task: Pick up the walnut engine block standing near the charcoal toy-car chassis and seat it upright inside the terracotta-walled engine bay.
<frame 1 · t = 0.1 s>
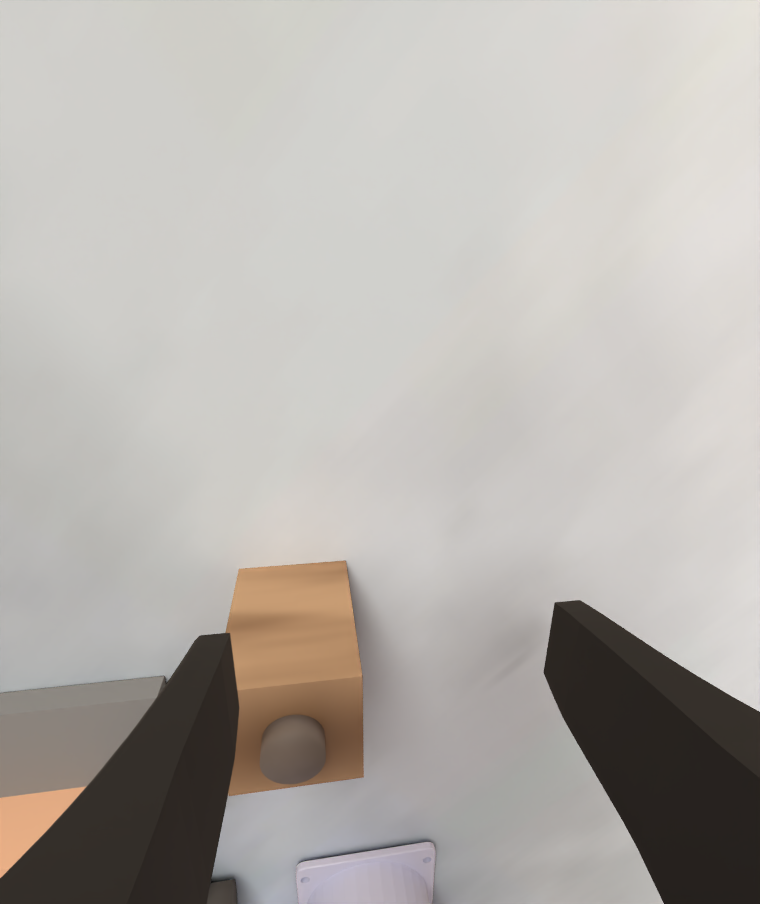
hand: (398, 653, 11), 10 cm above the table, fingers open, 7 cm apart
engine block: (296, 607, 22), on the table
chassis: (65, 829, 24), on the table
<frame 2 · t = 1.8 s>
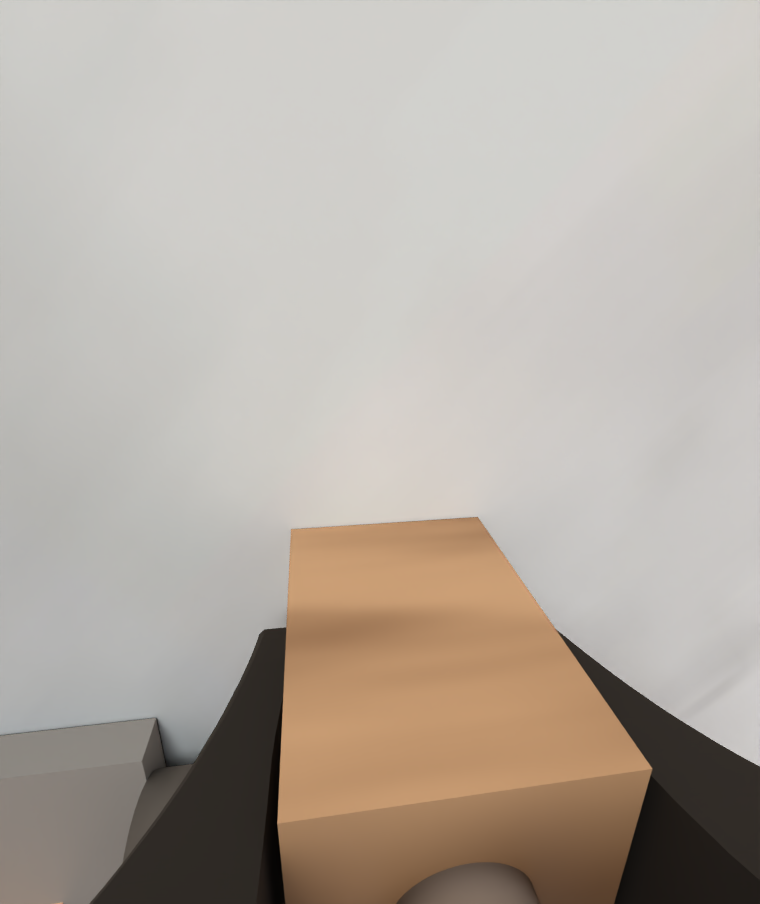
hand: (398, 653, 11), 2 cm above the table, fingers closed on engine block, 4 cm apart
engine block: (385, 601, 13), on the table, touching gripper
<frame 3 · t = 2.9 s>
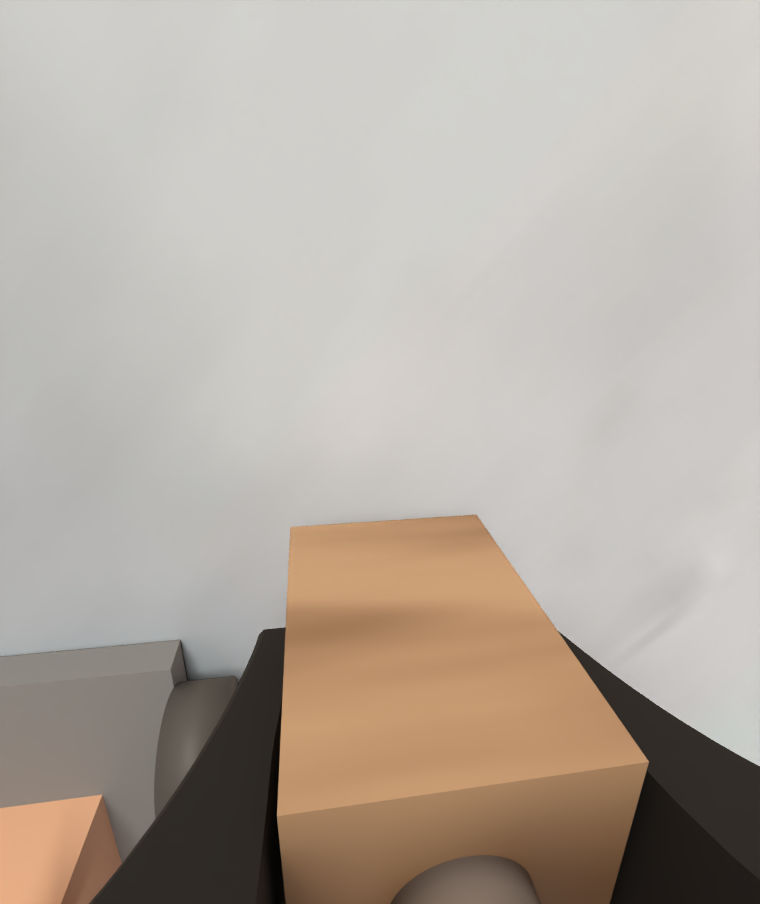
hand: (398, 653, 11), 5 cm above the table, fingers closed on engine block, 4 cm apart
engine block: (385, 598, 13), point 3 cm above the table, touching gripper
chassis: (40, 856, 18), on the table
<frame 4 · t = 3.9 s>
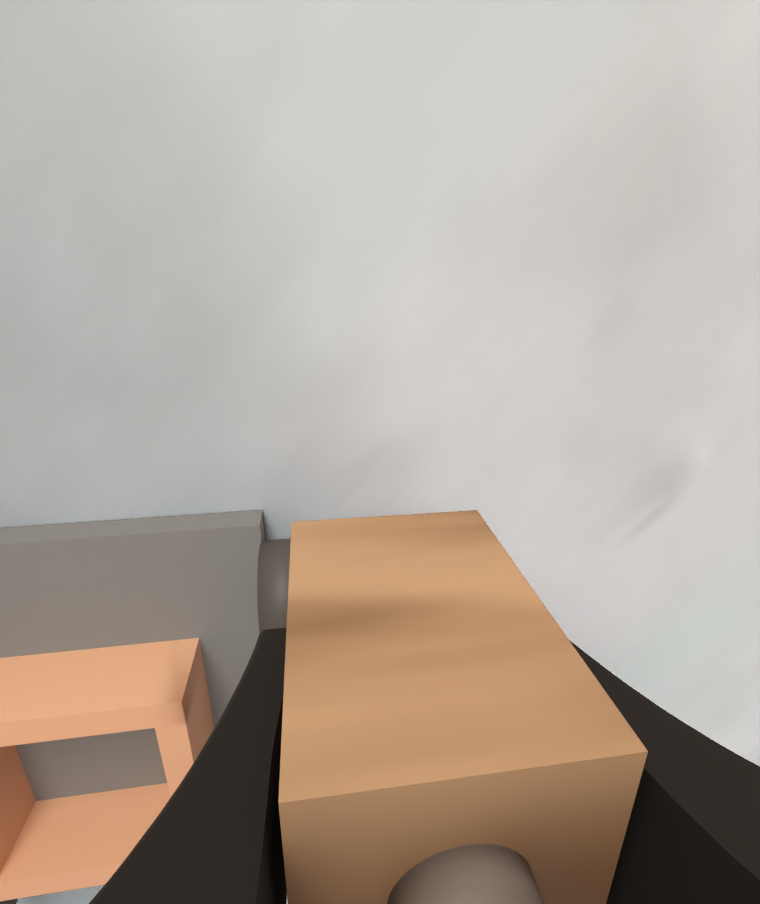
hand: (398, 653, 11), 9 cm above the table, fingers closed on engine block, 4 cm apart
engine block: (385, 594, 13), point 7 cm above the table, touching gripper
chassis: (138, 705, 21), on the table
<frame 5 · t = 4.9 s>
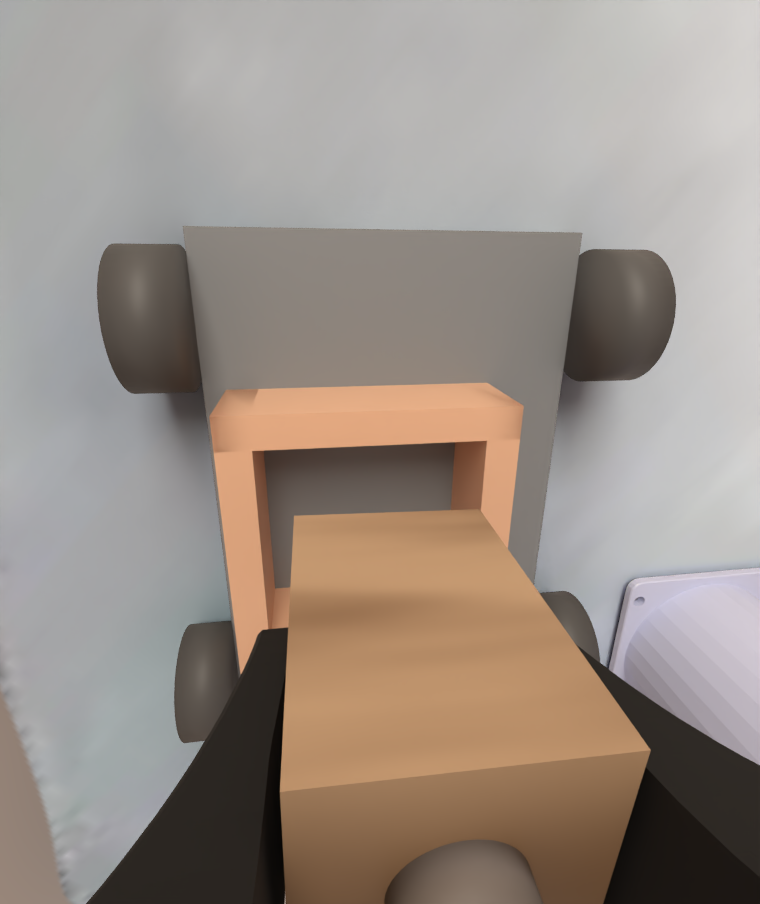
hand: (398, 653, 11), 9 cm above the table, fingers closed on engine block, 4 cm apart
engine block: (385, 591, 13), point 7 cm above the table, touching gripper
chassis: (384, 488, 19), on the table
when the fingers open (5 cm above the table, at t = 6.0 s): engine block drops 1 cm, resting on chassis.
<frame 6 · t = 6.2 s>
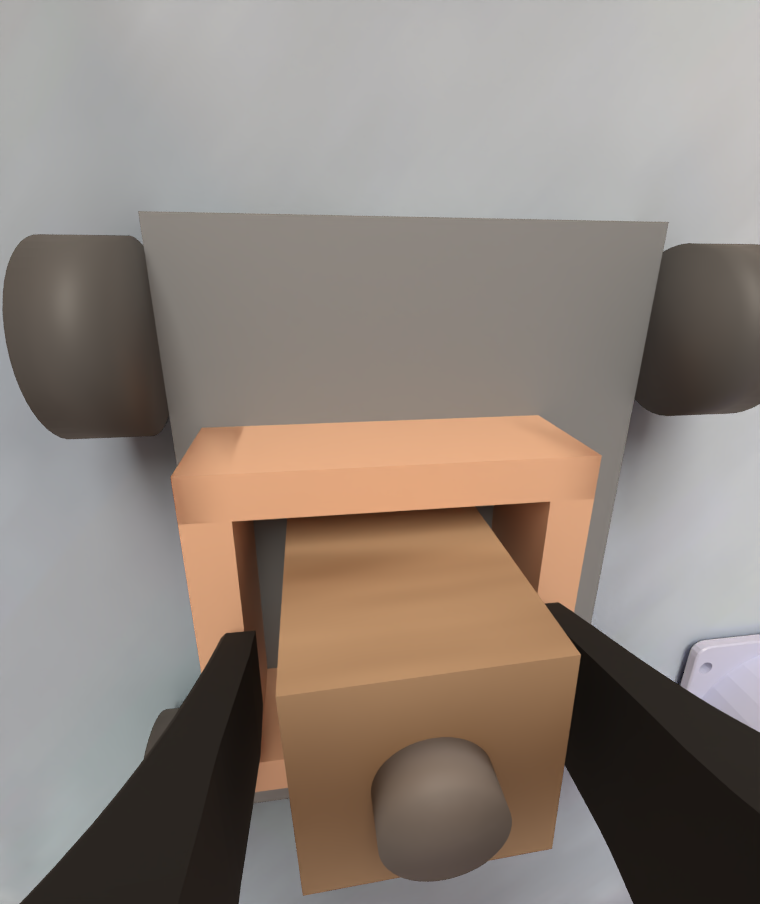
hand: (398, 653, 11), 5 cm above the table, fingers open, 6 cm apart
engine block: (376, 559, 14), point 1 cm above the table, touching chassis
chassis: (403, 541, 15), on the table
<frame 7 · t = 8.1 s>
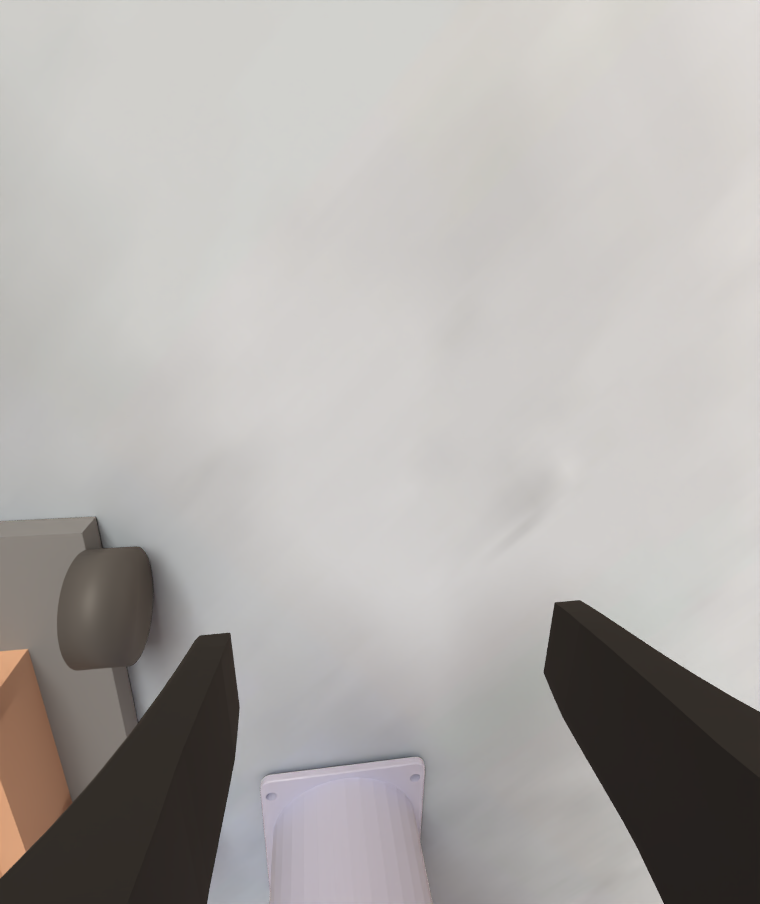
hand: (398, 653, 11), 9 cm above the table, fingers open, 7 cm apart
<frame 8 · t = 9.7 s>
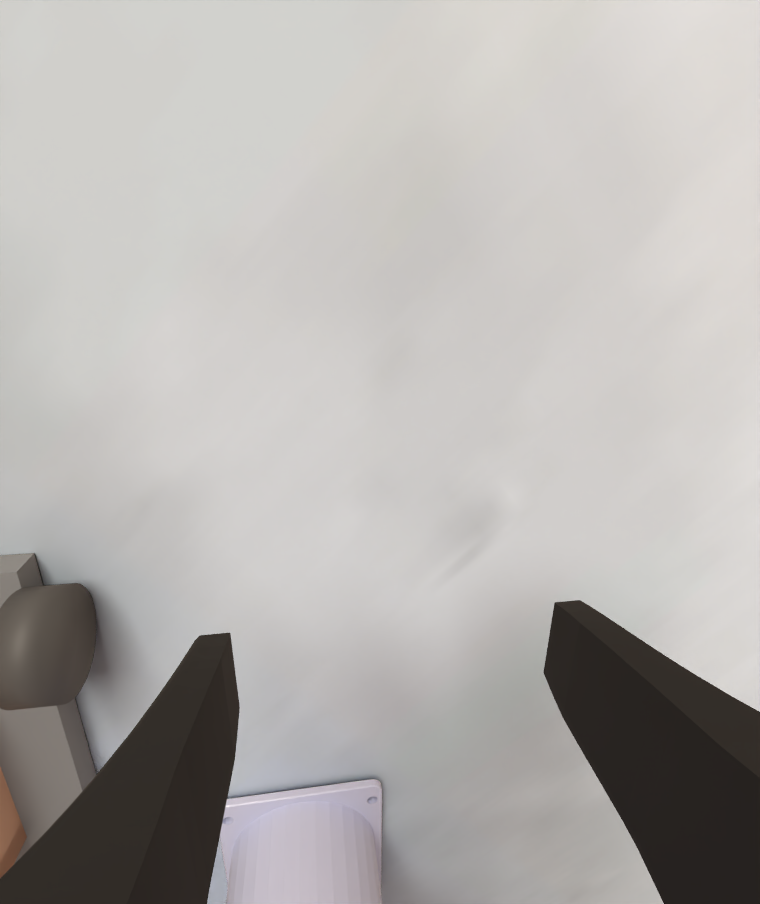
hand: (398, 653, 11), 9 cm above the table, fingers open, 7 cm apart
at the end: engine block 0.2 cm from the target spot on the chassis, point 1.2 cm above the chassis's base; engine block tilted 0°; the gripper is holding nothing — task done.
